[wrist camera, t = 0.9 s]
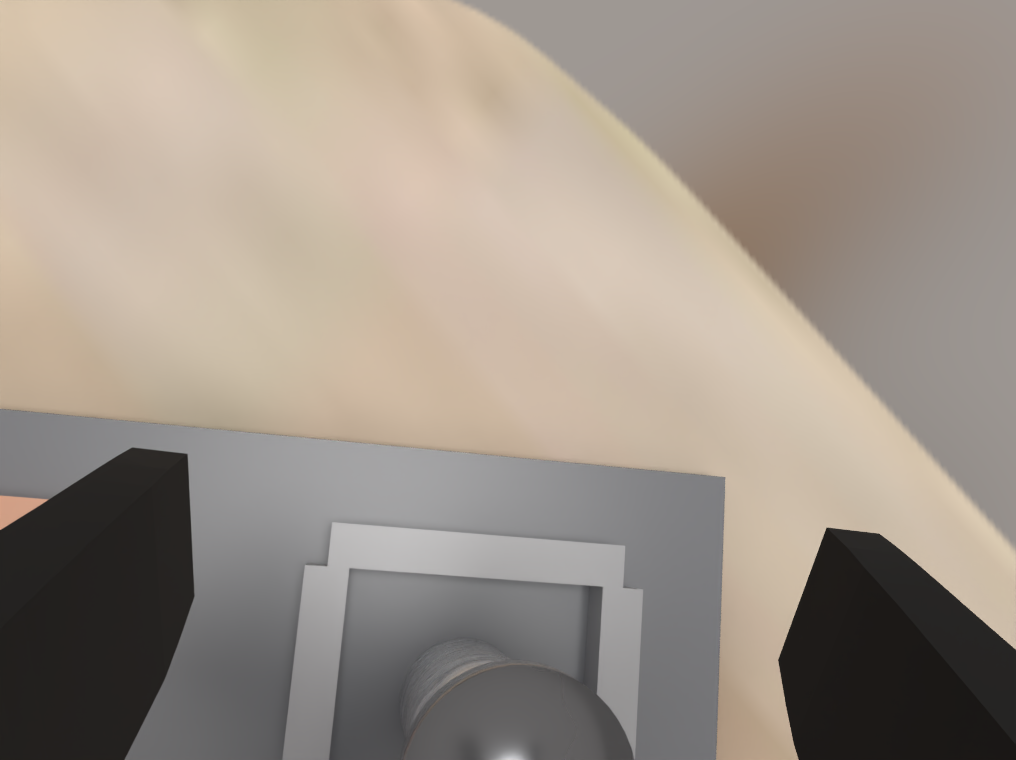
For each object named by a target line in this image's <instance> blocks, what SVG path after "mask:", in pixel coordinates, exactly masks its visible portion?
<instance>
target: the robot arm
mask: <svg viewBox="0 0 1016 760" xmlns="http://www.w3.org/2000/svg"><path fill="white" fill-rule="evenodd" d="M194 597H195V595H194V574H193V553H192V532H191V512H190V491H189V470H188V454H185V453H177V452H168V451H160V450H151V449H142V448H134V447H132V448H130V449H128V450H127V451H125V452H123V453H121V454H120V455H118V456H116V457H115V458H113V459H111V460H110V461H108V462H107V463H105V464H103V465H102V466H100V467H99V468H97V469H96V470H94V471H92V472H91V473H89V474H88V475H86V476H85V477H83V478H81V479H80V480H78V481H77V482H75V483H74V484H72V485H71V486H69V487H68V488H66V489H64V490H63V491H61V492H60V493H58V494H57V495H55V496H54V497H52V498H50V499H49V500H47V501H46V502H44V503H43V504H41V505H39V506H38V507H36V508H35V509H33V510H31V511H30V512H28V513H27V514H25V515H24V516H22V517H20V518H19V519H17V520H16V521H14V522H12V523H11V524H9V525H8V526H6V527H4V528H3V529H1V530H0V760H125V758H126V756H127V754H128V752H129V750H130V748H131V746H132V744H133V742H134V740H135V738H136V736H137V734H138V732H139V730H140V728H141V726H142V724H143V722H144V720H145V718H146V716H147V714H148V712H149V710H150V708H151V706H152V704H153V702H154V700H155V698H156V696H157V694H158V692H159V690H160V688H161V686H162V684H163V682H164V680H165V678H166V675H167V672H168V670H169V667H170V664H171V662H172V659H173V656H174V654H175V651H176V648H177V646H178V643H179V640H180V637H181V634H182V631H183V629H184V626H185V623H186V620H187V617H188V614H189V611H190V608H191V605H192V602H193V600H194ZM778 661H779V667H780V673H781V679H782V684H783V690H784V696H785V702H786V707H787V712H788V717H789V722H790V727H791V732H792V737H793V742H794V746H795V749H796V752H797V755H798V759H799V760H1016V650H1015V649H1014V648H1013V647H1012V646H1011V645H1010V644H1008V643H1007V642H1006V641H1005V640H1004V639H1003V638H1001V637H1000V636H999V635H998V634H997V633H996V632H995V631H993V630H992V629H991V628H990V627H989V626H988V625H986V624H985V623H984V622H983V621H982V620H981V619H980V618H978V617H977V616H976V615H975V614H974V613H973V612H972V611H970V610H969V609H968V608H967V607H966V606H965V605H964V604H962V603H961V602H960V601H959V600H958V599H957V598H956V597H955V596H953V595H952V594H951V593H950V592H949V591H948V590H947V589H945V588H944V587H943V586H942V585H941V584H940V583H939V582H937V581H936V580H935V579H934V578H933V577H932V576H930V575H929V574H928V573H927V572H926V571H925V570H923V569H922V568H921V567H920V566H919V565H918V564H917V563H915V562H914V561H913V560H912V559H911V558H909V557H908V556H907V555H906V554H905V553H903V552H902V551H901V550H900V549H898V548H897V547H896V546H895V545H893V544H892V543H891V542H889V541H888V540H887V539H885V538H884V537H883V536H882V535H880V534H877V533H868V532H859V531H851V530H842V529H833V528H826V531H825V534H824V536H823V539H822V542H821V545H820V547H819V550H818V553H817V556H816V558H815V561H814V564H813V567H812V569H811V572H810V575H809V577H808V580H807V583H806V586H805V588H804V591H803V594H802V597H801V599H800V602H799V605H798V608H797V610H796V613H795V616H794V619H793V621H792V624H791V627H790V629H789V632H788V635H787V638H786V640H785V643H784V646H783V649H782V651H781V654H780V657H779V660H778Z"/></svg>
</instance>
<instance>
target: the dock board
mask: <svg viewBox="0 0 1016 760" xmlns="http://www.w3.org/2000/svg"><path fill="white" fill-rule="evenodd" d="M132 447H134V448H142V449H151V450H160V451H168V452H177V453H185V454H188V470H189V491H190V512H191V532H192V553H193V574H194V595H195V597H194V600H193V602H192V605H191V608H190V611H189V614H188V617H187V620H186V623H185V626H184V629H183V631H182V634H181V637H180V640H179V643H178V646H177V648H176V651H175V654H174V656H173V659H172V662H171V664H170V667H169V670H168V672H167V675H166V678H165V680H164V682H163V684H162V686H161V688H160V690H159V692H158V694H157V696H156V698H155V700H154V702H153V704H152V706H151V708H150V710H149V712H148V714H147V716H146V718H145V720H144V722H143V724H142V726H141V728H140V730H139V732H138V734H137V736H136V738H135V740H134V742H133V744H132V746H131V748H130V750H129V752H128V754H127V756H126V758H125V760H399V758H400V754H401V751H402V747H403V744H404V741H405V735H404V731H403V727H402V723H401V719H400V712H399V699H400V692H401V688H402V685H403V682H404V679H405V677H406V675H407V673H408V671H409V669H410V668H411V666H412V665H413V664H414V662H415V661H416V660H417V659H418V658H419V657H420V656H421V655H422V654H423V653H424V652H425V651H427V650H428V649H429V648H431V647H433V646H434V645H436V644H439V643H441V642H443V641H447V640H450V639H457V638H470V639H476V640H480V641H483V642H486V643H488V644H490V645H492V646H493V647H495V648H497V649H498V650H499V651H501V652H502V653H503V654H504V655H506V656H507V657H508V658H510V659H511V660H528V661H535V662H539V663H543V664H546V665H550V666H552V667H554V668H556V669H559V670H561V671H563V672H565V673H566V674H568V675H570V676H571V677H573V678H575V679H576V680H578V681H579V682H581V683H582V684H584V685H586V686H587V687H588V688H589V689H591V690H592V691H593V692H594V693H596V694H597V695H598V696H599V697H600V698H601V699H602V700H603V701H604V702H605V703H606V704H607V705H608V706H609V708H610V709H611V710H612V712H613V713H614V715H615V716H616V717H617V719H618V720H619V722H620V724H621V726H622V728H623V729H624V731H625V733H626V736H627V738H628V741H629V743H630V746H631V748H632V752H633V756H634V760H716V745H717V715H718V684H719V653H720V623H721V592H722V561H723V531H724V500H725V477H717V476H706V475H696V474H685V473H675V472H664V471H653V470H643V469H632V468H622V467H611V466H600V465H590V464H579V463H569V462H558V461H547V460H537V459H526V458H515V457H505V456H494V455H484V454H473V453H462V452H452V451H441V450H431V449H420V448H409V447H399V446H388V445H378V444H367V443H356V442H346V441H335V440H325V439H314V438H303V437H293V436H282V435H271V434H261V433H250V432H240V431H229V430H218V429H208V428H197V427H187V426H176V425H165V424H155V423H144V422H134V421H123V420H112V419H102V418H91V417H81V416H70V415H59V414H49V413H38V412H27V411H17V410H6V409H0V530H1V529H3V528H4V527H6V526H8V525H9V524H11V523H12V522H14V521H16V520H17V519H19V518H20V517H22V516H24V515H25V514H27V513H28V512H30V511H31V510H33V509H35V508H36V507H38V506H39V505H41V504H43V503H44V502H46V501H47V500H49V499H50V498H52V497H54V496H55V495H57V494H58V493H60V492H61V491H63V490H64V489H66V488H68V487H69V486H71V485H72V484H74V483H75V482H77V481H78V480H80V479H81V478H83V477H85V476H86V475H88V474H89V473H91V472H92V471H94V470H96V469H97V468H99V467H100V466H102V465H103V464H105V463H107V462H108V461H110V460H111V459H113V458H115V457H116V456H118V455H120V454H121V453H123V452H125V451H127V450H128V449H130V448H132Z"/></svg>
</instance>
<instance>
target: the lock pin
mask: <svg viewBox="0 0 1016 760" xmlns="http://www.w3.org/2000/svg"><path fill="white" fill-rule="evenodd" d="M399 712H400V719H401V723H402V727H403V731H404V735H405V741H404V744H403V747H402V751H401V754H400V758H399V760H634V756H633V752H632V748H631V746H630V743H629V741H628V738H627V736H626V733H625V731H624V729H623V728H622V726H621V724H620V722H619V720H618V719H617V717H616V716H615V715H614V713H613V712H612V710H611V709H610V708H609V706H608V705H607V704H606V703H605V702H604V701H603V700H602V699H601V698H600V697H599V696H598V695H597V694H596V693H594V692H593V691H592V690H591V689H589V688H588V687H587V686H586V685H584V684H582V683H581V682H579V681H578V680H576V679H575V678H573V677H571V676H570V675H568V674H566V673H565V672H563V671H561V670H559V669H556V668H554V667H552V666H550V665H546V664H543V663H539V662H535V661H528V660H511V659H510V658H508V657H507V656H506V655H504V654H503V653H502V652H501V651H499V650H498V649H497V648H495V647H493V646H492V645H490V644H488V643H486V642H483V641H480V640H476V639H470V638H457V639H450V640H447V641H443V642H441V643H439V644H436V645H434V646H433V647H431V648H429V649H428V650H427V651H425V652H424V653H423V654H422V655H421V656H420V657H419V658H418V659H417V660H416V661H415V662H414V664H413V665H412V666H411V668H410V669H409V671H408V673H407V675H406V677H405V679H404V682H403V685H402V688H401V692H400V699H399Z"/></svg>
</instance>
